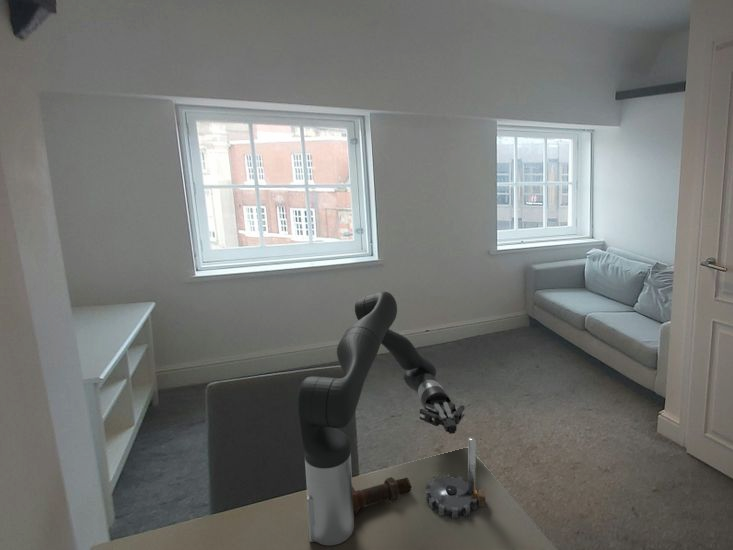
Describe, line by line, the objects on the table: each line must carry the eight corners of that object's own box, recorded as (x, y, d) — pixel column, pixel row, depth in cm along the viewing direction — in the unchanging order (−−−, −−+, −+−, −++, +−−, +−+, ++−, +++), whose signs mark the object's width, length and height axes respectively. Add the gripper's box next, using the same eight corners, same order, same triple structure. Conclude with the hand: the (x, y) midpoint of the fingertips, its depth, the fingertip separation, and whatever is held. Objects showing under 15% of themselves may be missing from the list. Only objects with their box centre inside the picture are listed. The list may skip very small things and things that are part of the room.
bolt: (410, 500, 97) (349, 519, 91) (401, 479, 100) (342, 496, 95) (416, 489, 93) (353, 508, 88) (407, 467, 97) (346, 484, 91)
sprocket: (428, 517, 89) (427, 454, 86) (424, 481, 100) (423, 424, 97) (482, 518, 88) (483, 455, 85) (472, 481, 99) (473, 425, 96)
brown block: (479, 506, 92) (479, 496, 91) (478, 499, 94) (478, 489, 93) (484, 506, 92) (484, 496, 91) (484, 500, 93) (484, 490, 93)
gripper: (410, 387, 119) (426, 418, 102) (455, 383, 120) (478, 413, 103) (411, 411, 120) (426, 446, 103) (455, 407, 122) (478, 441, 105)
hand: (452, 430), depth 103 cm, fingers closed
